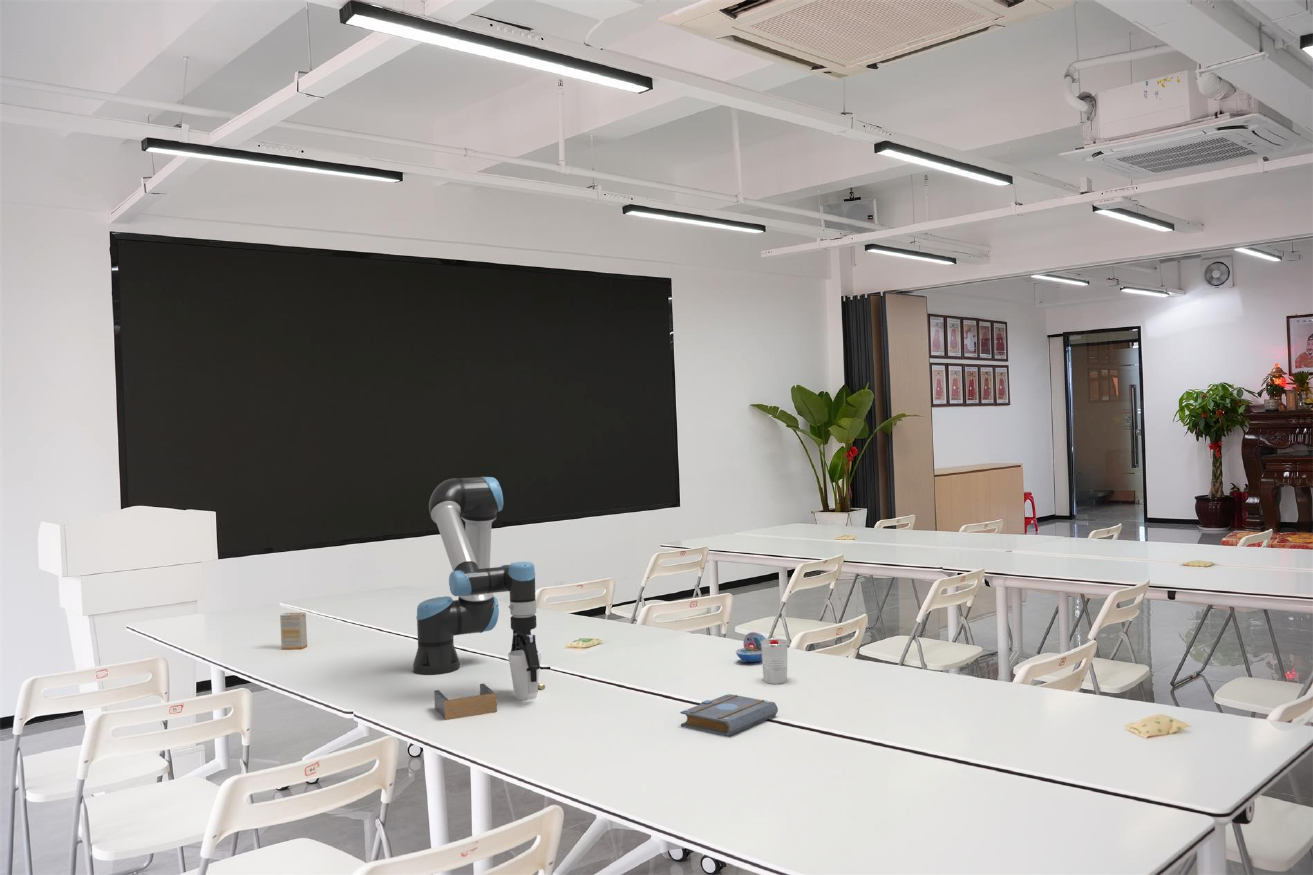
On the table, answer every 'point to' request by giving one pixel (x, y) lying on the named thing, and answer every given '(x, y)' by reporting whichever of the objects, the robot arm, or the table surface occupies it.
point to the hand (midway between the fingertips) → (525, 687)
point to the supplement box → (293, 630)
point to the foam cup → (521, 674)
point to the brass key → (541, 686)
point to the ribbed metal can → (774, 660)
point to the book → (729, 714)
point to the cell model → (751, 648)
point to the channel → (466, 704)
